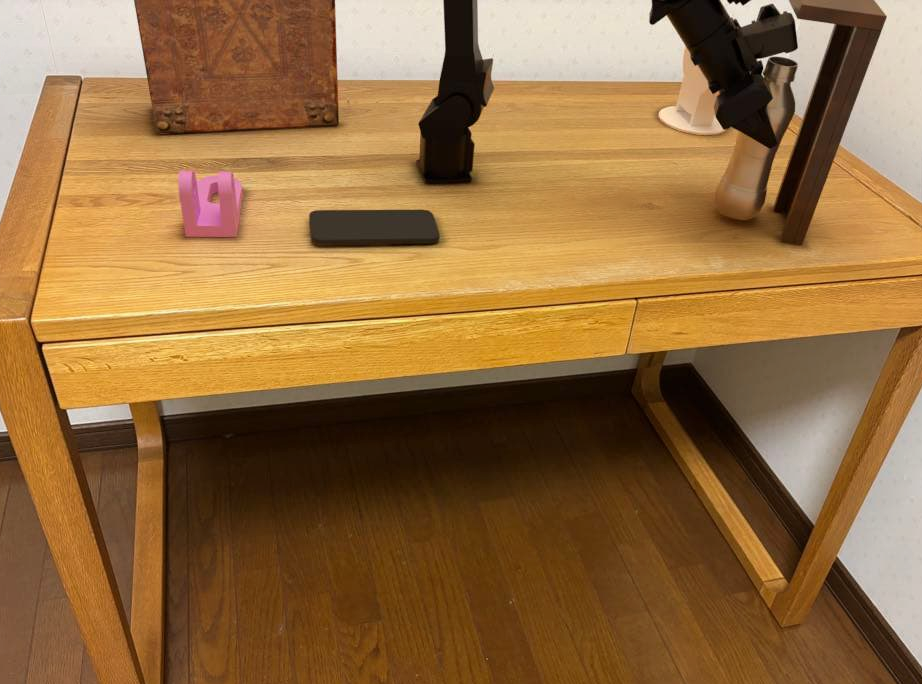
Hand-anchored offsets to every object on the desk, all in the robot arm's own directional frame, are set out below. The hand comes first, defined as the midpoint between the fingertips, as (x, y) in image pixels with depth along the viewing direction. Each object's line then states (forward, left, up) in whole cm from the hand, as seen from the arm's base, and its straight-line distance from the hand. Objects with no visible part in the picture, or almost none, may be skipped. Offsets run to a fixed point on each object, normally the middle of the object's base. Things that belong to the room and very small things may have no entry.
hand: (770, 136), depth 106 cm
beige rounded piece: (+8, +33, -12) cm, 36 cm away
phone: (-50, +2, -12) cm, 51 cm away
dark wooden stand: (+2, -1, -12) cm, 12 cm away
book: (-63, +37, -12) cm, 74 cm away
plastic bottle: (-1, +1, -11) cm, 11 cm away
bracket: (-68, +9, -12) cm, 69 cm away
